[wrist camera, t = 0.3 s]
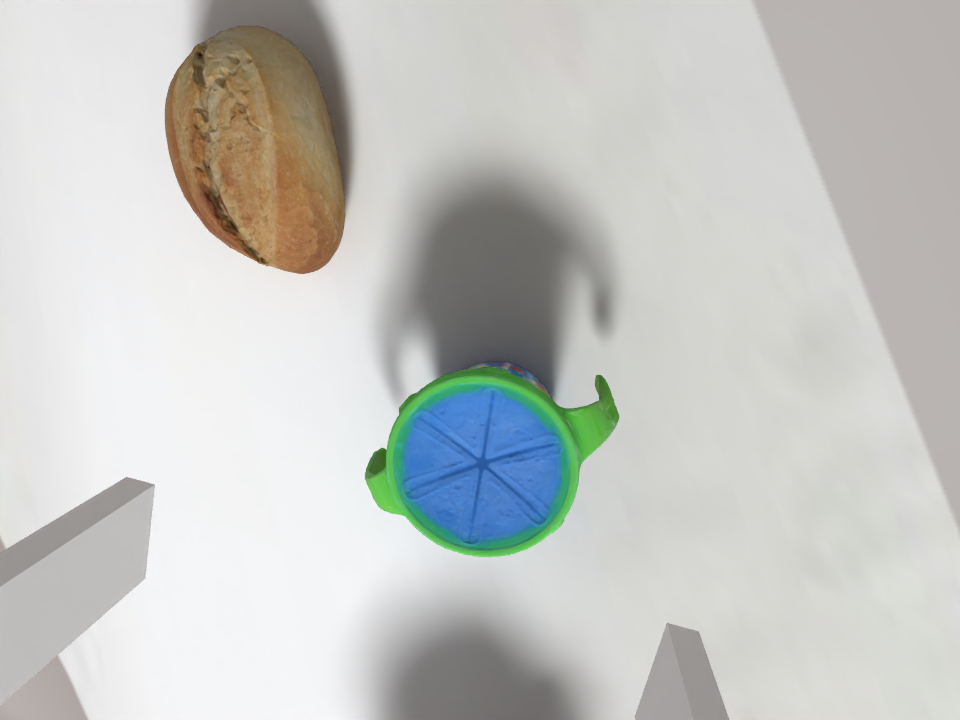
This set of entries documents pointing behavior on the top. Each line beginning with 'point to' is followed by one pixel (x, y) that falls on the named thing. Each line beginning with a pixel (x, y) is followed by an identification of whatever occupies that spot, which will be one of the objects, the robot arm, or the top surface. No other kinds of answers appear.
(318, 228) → the bread roll
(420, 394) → the snack cup
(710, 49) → the top surface
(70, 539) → the robot arm
